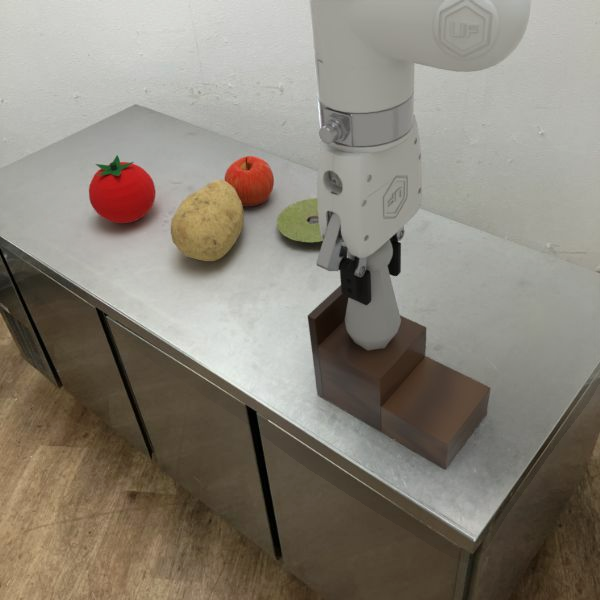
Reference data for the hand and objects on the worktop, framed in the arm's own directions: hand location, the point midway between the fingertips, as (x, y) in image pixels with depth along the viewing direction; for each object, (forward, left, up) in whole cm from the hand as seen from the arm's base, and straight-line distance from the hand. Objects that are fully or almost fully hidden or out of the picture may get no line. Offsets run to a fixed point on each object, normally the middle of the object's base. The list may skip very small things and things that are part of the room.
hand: (371, 282), depth 64 cm
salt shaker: (0, 0, -8) cm, 8 cm away
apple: (+4, -45, -17) cm, 48 cm away
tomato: (+24, -49, -17) cm, 57 cm away
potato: (+12, -35, -17) cm, 40 cm away
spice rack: (-2, +3, -17) cm, 17 cm away
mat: (-3, -33, -17) cm, 37 cm away
